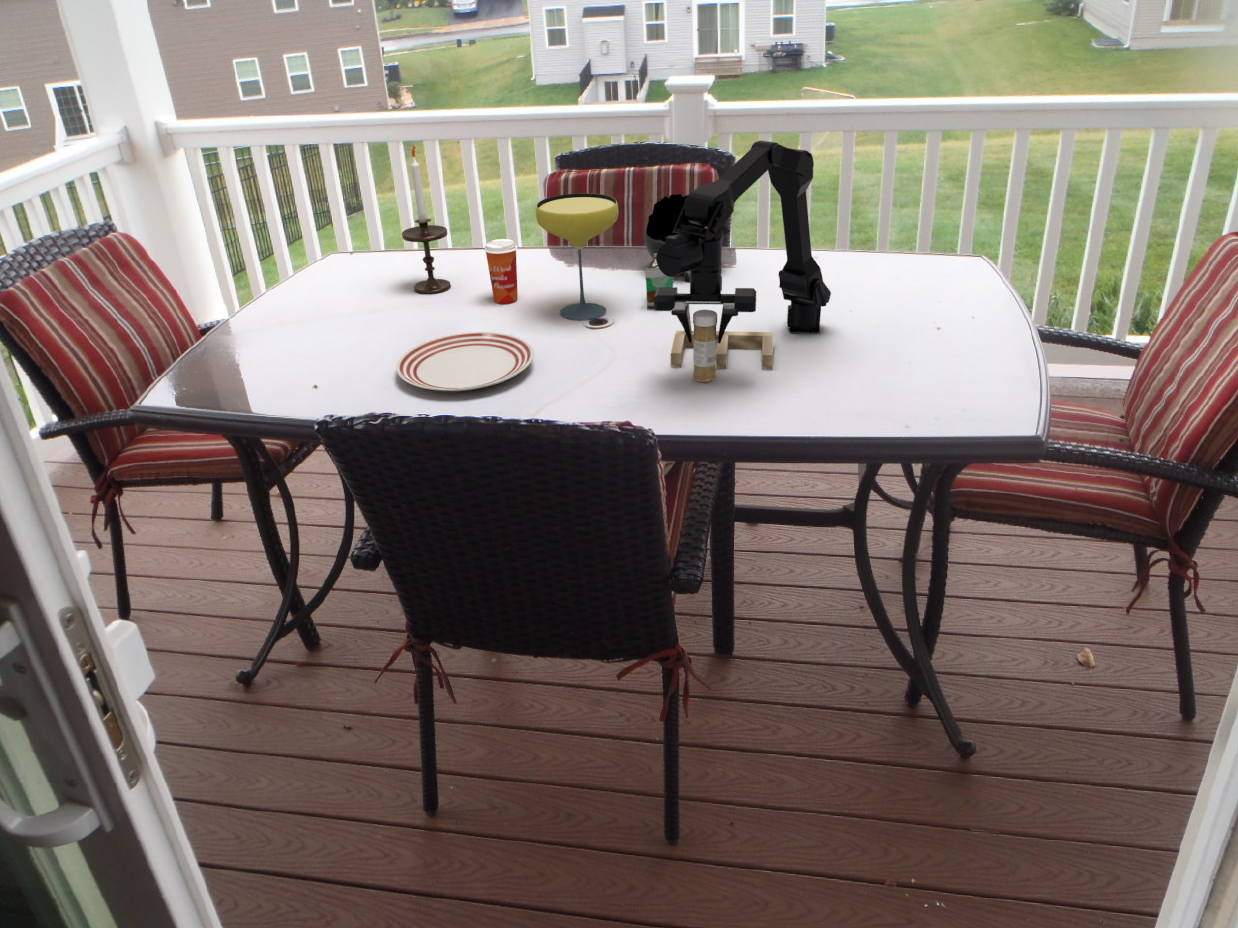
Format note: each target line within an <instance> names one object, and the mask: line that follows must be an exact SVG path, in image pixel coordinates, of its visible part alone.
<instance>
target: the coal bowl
mask: <svg viewBox="0 0 1238 928" xmlns="http://www.w3.org/2000/svg"><path fill="white" fill-rule="evenodd" d="M688 195H689V194H687V195H684V196H683V195H682V193H678V194H674V193H673V194H670V195H669V196H666V195H665V196H663V198H661V199H660V200H658V201H656V202H655V203H654V204H653V208H652V213H651V214H650V215H648V220H647V221H648V222H647V225H646V230H645V231H644V233H643V238H644V239H643V240H644V245H645V247H646V249H647V252H648V253H649V255H650V257H651V258H652V259H654V253H658V250H659V248H660V247H661V246H662V245H664V244H665V238H666V237H668V236H674V235H677V234H679V233H674V232H673V229H674V226H675V224H676V222H677V219H678V217H679V214H680V212H681V210H682V207H683V205H684V203H685V199H686V198H687V196H688ZM688 225H693V226H697V227H702V228H705V227H707V226H703V225H698V224H693V223H690V222H689V223H688ZM724 236H725V235H723V236H722V243H723V242H724V241H723V240H724Z"/></svg>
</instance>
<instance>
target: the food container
mask: <svg viewBox="0 0 1238 928" xmlns="http://www.w3.org/2000/svg"><path fill="white" fill-rule="evenodd" d="M656 255H657V253H654V259H653V258H652V259H653V260H651V262H650V264H649V265H648V267H646V268H645V272H644V273H645V275H644V276H645V285H646V287H645V289H646V291H645V292H646V308H647V310H654V297H655V293H656V290H657V289H658V288H659V287H674V276H673V277H668V276H666V275H664V274H663V273H662V272H661V270H660V269H659V267H658V264H657V260H656Z"/></svg>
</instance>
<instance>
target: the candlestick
mask: <svg viewBox="0 0 1238 928" xmlns="http://www.w3.org/2000/svg"><path fill="white" fill-rule="evenodd" d="M415 149H416V146H415V144H414V143H413V144H412V149H411V156H412V163H410V168H411V175H412V180H413V181H412V183H413V188H414V194H415V202H416V203H415V204H416V210H417V215H418V218H417V219H416V220H414V222H415V223H416V224H418V226H413V227H409V228H407V229H405V230H403V231H402V233H401V236H402V237H401V238H402V240H404V241H406V242H411V243H423V250H424V257H423V258H422V261H423V263H424V264H425V268H424V271H427V276H428V277H427V279H425V280H421V281H418V282H416V283H415V284H414V286H413V289H414V292H415V293H417V294H420V295H436V294H442V293H445V292H448V291H449V290H450V289H451V287H452V286H451V282H450V281H449V280H447V279H442V278H441V279H440V278H436V277H435V276H434V270H435V269H436V268H435V266H433V263H434V261H435V257H434V256H432V255H431V249H430V248H431V247H430V242H434V241H438V240H441V239H443V238H446V237H447V236H448V228H447V227H445V226H442V225H438V224H437V225H434V224H433V225H430V224H428V223H430V222H432V219H431V218H427V212H426V205H425V197H424V191H423V185H422V184H423V183H422V177H421V176H422V175H421V169H420V163H419V162H417V160H416V157H415V156H416V150H415Z"/></svg>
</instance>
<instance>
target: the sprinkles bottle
mask: <svg viewBox="0 0 1238 928" xmlns="http://www.w3.org/2000/svg"><path fill="white" fill-rule="evenodd" d="M692 323H693V331H694V340H693V345H694V348H693V355H692V356H693V376H692V377H693V380H695V381H696V382H699V383H711V382H713V381H714V380H716V378H717V374H716V373H717V371H716V370H717V368H716V353H717V338H716V331H717V324H718V313H717V312H716V311H714V310H712V309H699V310H696V311H695V312H693V314H692Z"/></svg>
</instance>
